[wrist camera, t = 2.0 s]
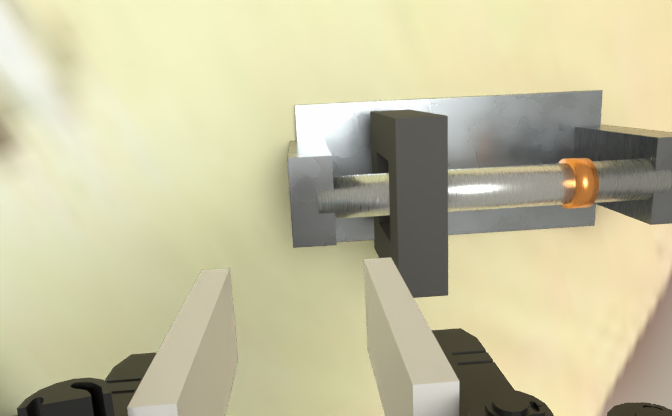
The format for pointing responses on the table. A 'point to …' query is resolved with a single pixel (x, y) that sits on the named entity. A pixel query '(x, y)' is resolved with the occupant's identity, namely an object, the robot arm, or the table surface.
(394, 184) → the ring
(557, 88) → the table surface
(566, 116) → the pipe rig
